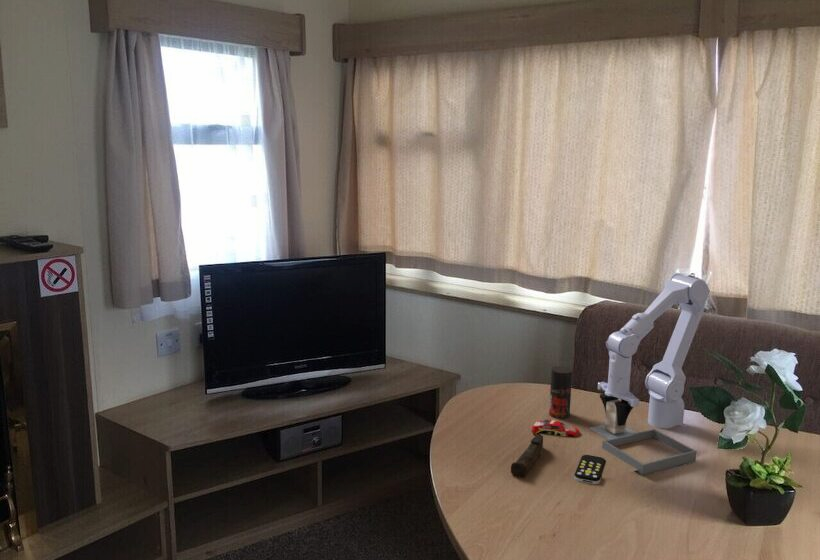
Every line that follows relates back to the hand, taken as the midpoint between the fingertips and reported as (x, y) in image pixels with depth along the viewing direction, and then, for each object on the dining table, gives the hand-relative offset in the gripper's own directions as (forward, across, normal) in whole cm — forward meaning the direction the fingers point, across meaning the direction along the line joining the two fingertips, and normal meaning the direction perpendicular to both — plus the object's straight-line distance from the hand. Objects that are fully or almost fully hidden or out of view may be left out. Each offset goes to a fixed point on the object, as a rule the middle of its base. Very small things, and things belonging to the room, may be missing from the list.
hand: (615, 421), depth 203 cm
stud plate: (+4, 0, 0) cm, 4 cm away
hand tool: (+4, +3, -31) cm, 31 cm away
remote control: (+4, +14, -20) cm, 25 cm away
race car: (+4, -7, -15) cm, 17 cm away
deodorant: (+4, -16, -7) cm, 18 cm away
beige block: (+2, 0, 0) cm, 2 cm away
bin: (+4, +14, -1) cm, 15 cm away
